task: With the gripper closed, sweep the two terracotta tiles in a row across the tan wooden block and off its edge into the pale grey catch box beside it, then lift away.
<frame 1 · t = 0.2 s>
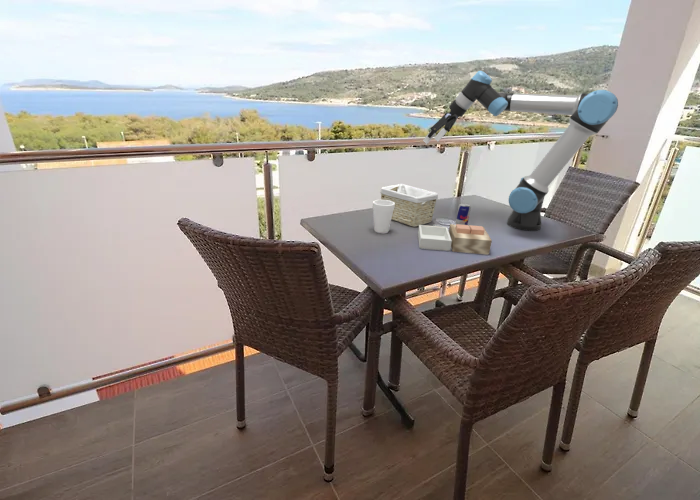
hand: (430, 141, 181), 36 cm above the table, tool tilted 35°, fingers open, 13 cm apart
catch box: (433, 242, 155), on the table
tile 2: (476, 232, 151), point 6 cm above the table, touching tan wooden block
storage basket: (405, 219, 183), on the table
energy drink: (460, 230, 171), on the table
tan wooden block: (467, 245, 154), on the table
foam cup: (381, 231, 166), on the table
tile 1: (462, 231, 152), point 6 cm above the table, touching tan wooden block
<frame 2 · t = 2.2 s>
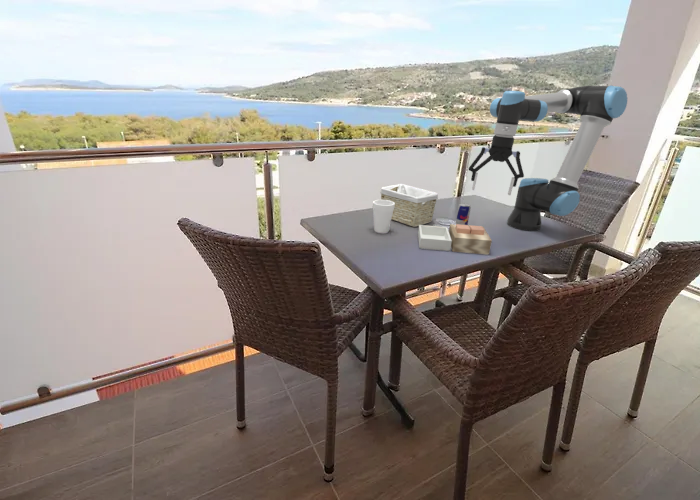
hand: (490, 192, 146), 23 cm above the table, tool pointing down, fingers open, 13 cm apart
nothing on the table moved.
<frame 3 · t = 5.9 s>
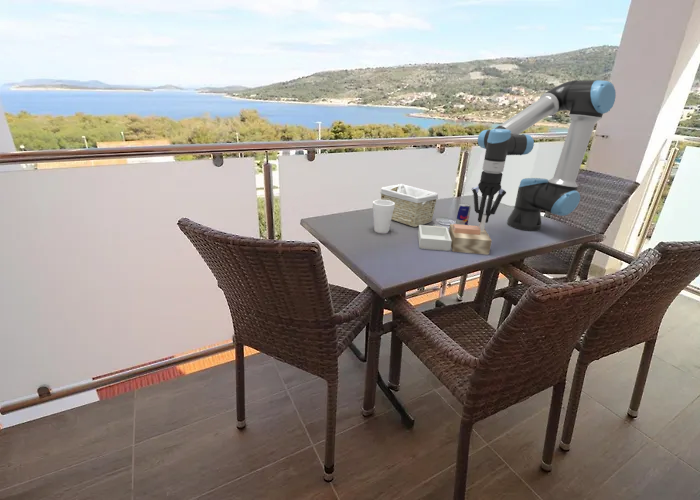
hand: (481, 229, 151), 7 cm above the table, tool pointing down, fingers closed
tile 2: (472, 232, 151), point 6 cm above the table, touching tan wooden block
tile 1: (459, 231, 152), point 6 cm above the table
everything else where it was.
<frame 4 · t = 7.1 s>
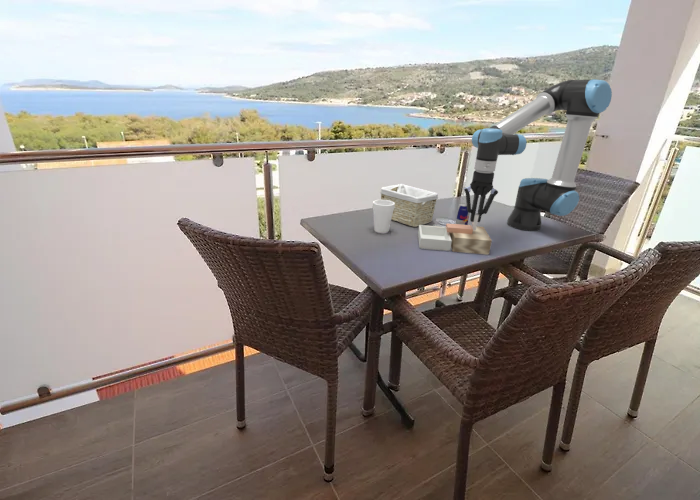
hand: (473, 229, 151), 7 cm above the table, tool pointing down, fingers closed
tile 2: (464, 231, 152), point 6 cm above the table, touching gripper
tile 1: (452, 230, 152), point 6 cm above the table, touching tan wooden block
everything else where it was.
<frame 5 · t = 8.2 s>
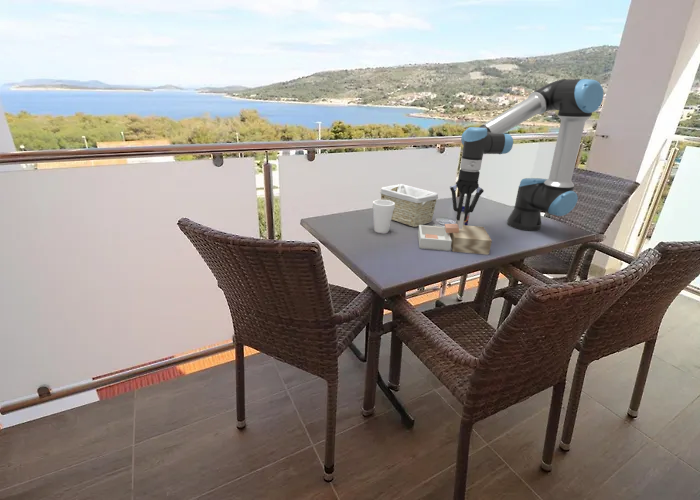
hand: (459, 227, 151), 7 cm above the table, tool pointing down, fingers closed
tile 2: (451, 230, 152), point 6 cm above the table, tilted 6°, touching gripper
tile 1: (431, 236, 154), point 3 cm above the table, tilted 180°, touching catch box
everything else where it was.
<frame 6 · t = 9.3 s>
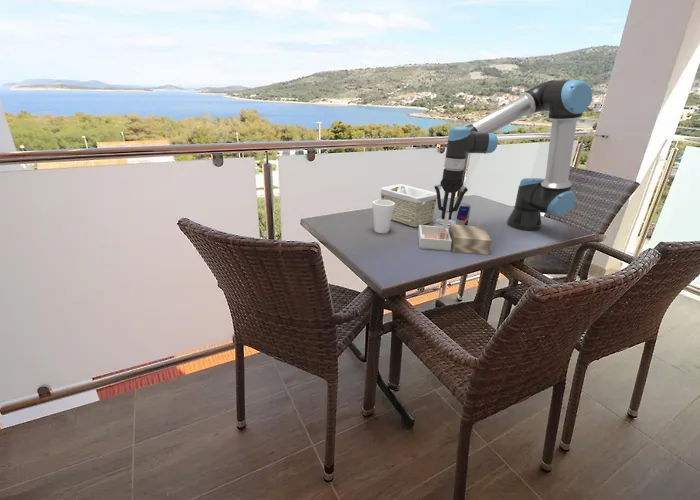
hand: (444, 226, 152), 7 cm above the table, tool pointing down, fingers closed
tile 2: (444, 236, 153), point 3 cm above the table, tilted 90°, touching catch box
everything else where it was.
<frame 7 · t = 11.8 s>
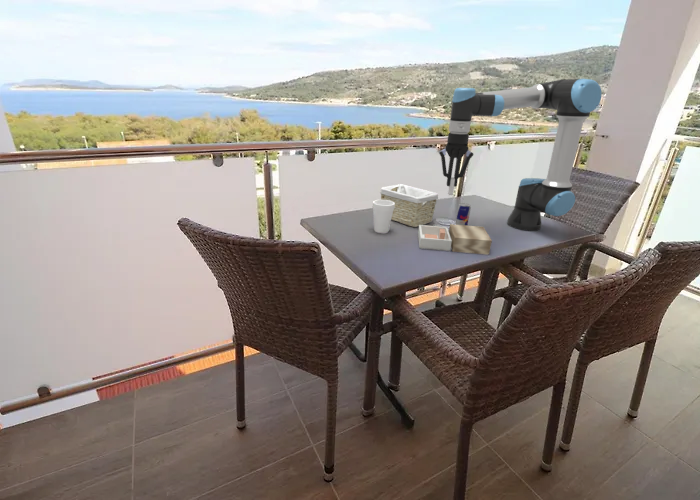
hand: (450, 194, 148), 21 cm above the table, tool pointing down, fingers closed
nothing on the table moved.
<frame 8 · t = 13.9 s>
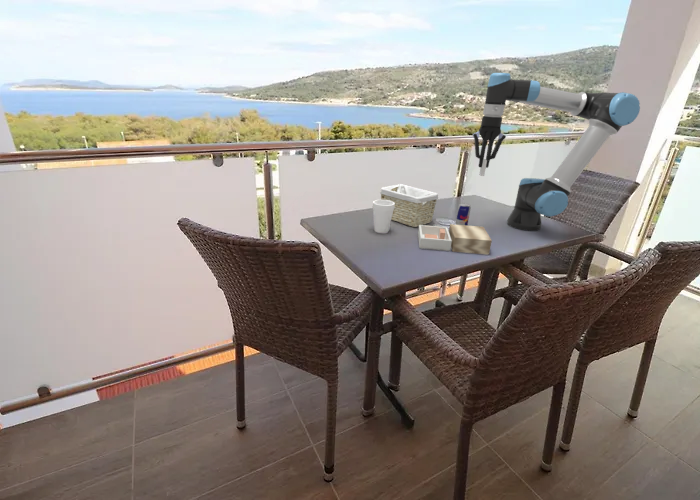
hand: (481, 175, 157), 26 cm above the table, tool pointing down, fingers closed
nothing on the table moved.
at the end: tile 1 inside the target area on the catch box (1.1 cm from its centre), point 2.6 cm above the catch box's base; tile 2 inside the target area on the catch box (4.1 cm from its centre), point 3.1 cm above the catch box's base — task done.
